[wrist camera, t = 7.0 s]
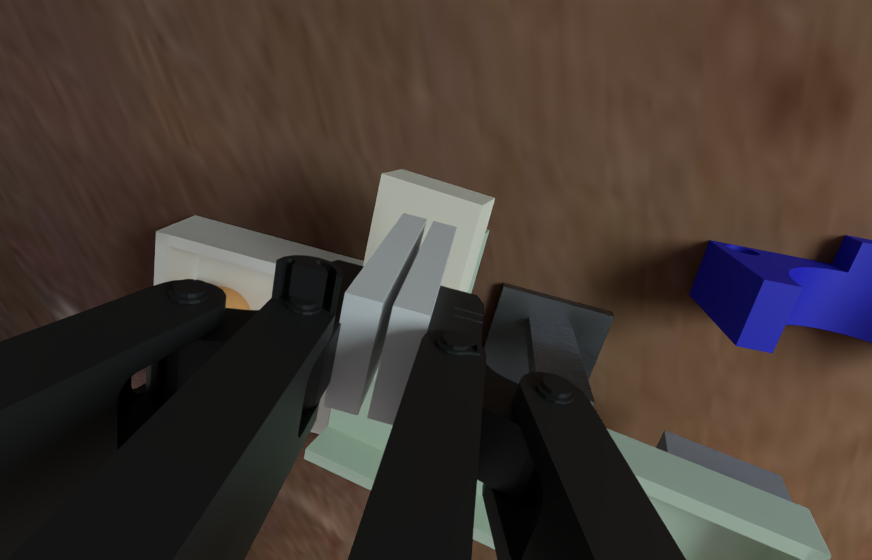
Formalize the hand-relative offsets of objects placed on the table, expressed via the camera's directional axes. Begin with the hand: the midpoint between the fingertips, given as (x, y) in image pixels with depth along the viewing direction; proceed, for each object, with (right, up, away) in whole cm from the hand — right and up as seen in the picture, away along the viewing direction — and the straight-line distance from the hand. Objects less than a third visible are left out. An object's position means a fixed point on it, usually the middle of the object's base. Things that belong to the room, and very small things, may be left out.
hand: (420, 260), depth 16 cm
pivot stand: (+6, -6, +13) cm, 16 cm away
